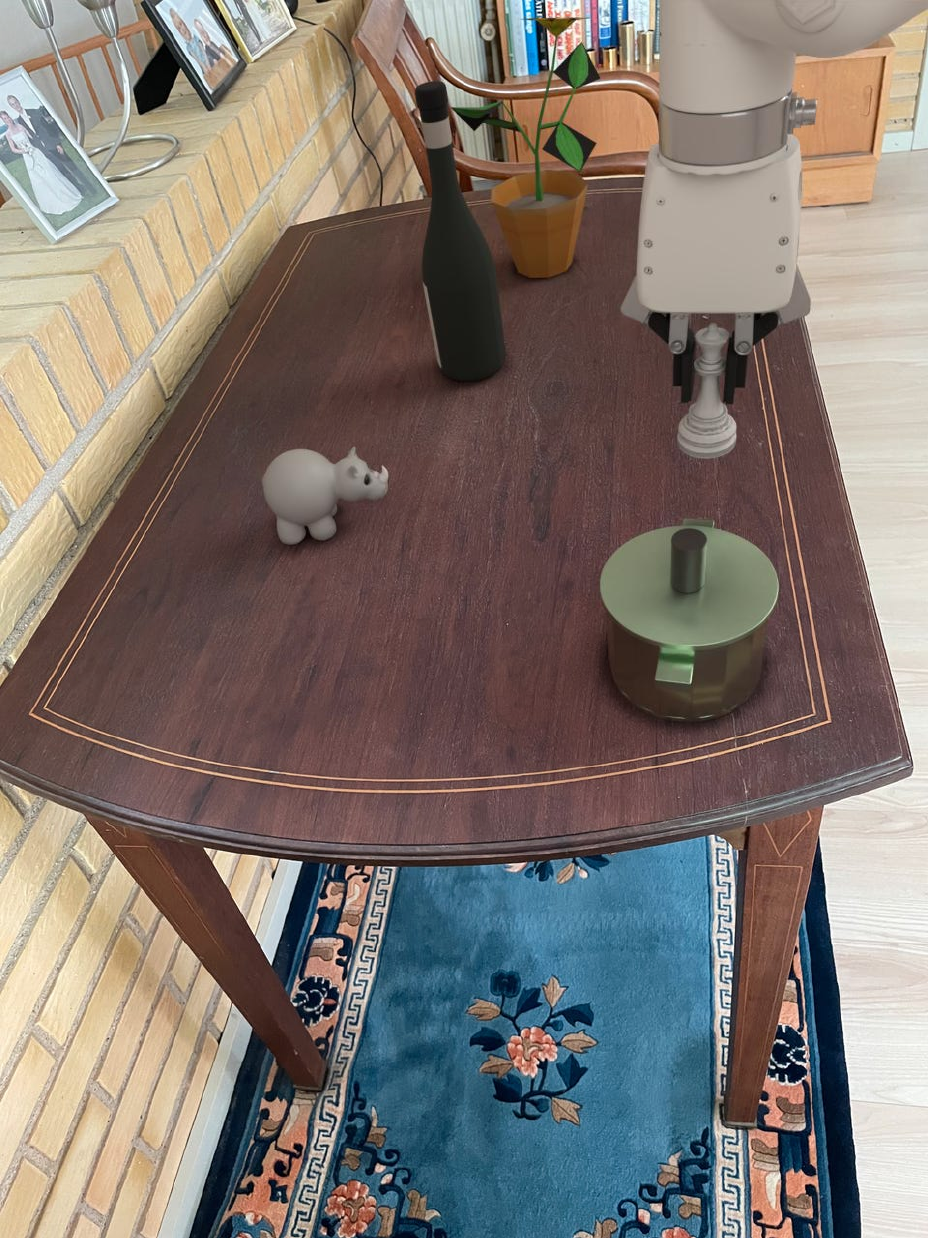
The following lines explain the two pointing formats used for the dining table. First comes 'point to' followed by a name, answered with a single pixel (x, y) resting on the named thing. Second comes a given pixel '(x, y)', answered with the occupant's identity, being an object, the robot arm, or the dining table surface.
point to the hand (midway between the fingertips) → (708, 391)
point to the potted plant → (544, 175)
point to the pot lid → (689, 587)
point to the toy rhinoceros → (316, 491)
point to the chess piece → (708, 402)
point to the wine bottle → (456, 259)
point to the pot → (685, 672)
